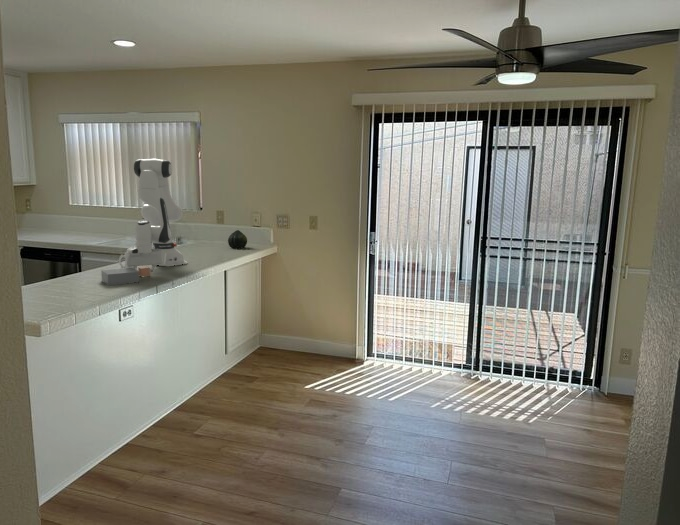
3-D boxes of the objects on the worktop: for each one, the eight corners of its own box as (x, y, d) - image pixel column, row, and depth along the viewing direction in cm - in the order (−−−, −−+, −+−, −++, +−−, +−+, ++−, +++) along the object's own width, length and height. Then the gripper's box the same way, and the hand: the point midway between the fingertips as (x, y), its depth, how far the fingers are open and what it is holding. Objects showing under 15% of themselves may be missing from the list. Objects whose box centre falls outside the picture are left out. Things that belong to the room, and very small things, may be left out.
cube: (147, 274, 304) (147, 266, 303) (150, 276, 300) (150, 268, 299) (138, 275, 301) (138, 267, 300) (141, 277, 297) (141, 268, 296)
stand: (131, 278, 293) (131, 267, 292) (138, 282, 284) (138, 271, 283) (101, 281, 283) (101, 270, 282) (108, 285, 274) (107, 274, 273)
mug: (137, 271, 312) (137, 251, 309) (136, 273, 305) (136, 253, 303) (119, 271, 309) (119, 251, 307) (118, 273, 302) (117, 253, 300)
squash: (235, 243, 401) (244, 228, 408) (221, 242, 409) (230, 227, 415) (245, 254, 411) (253, 238, 418) (231, 252, 419) (239, 237, 426)
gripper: (159, 247, 306) (160, 270, 309) (123, 249, 293) (124, 273, 296) (163, 249, 301) (163, 272, 304) (127, 251, 289) (127, 275, 291)
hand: (144, 272), depth 300 cm, fingers open, 7 cm apart
